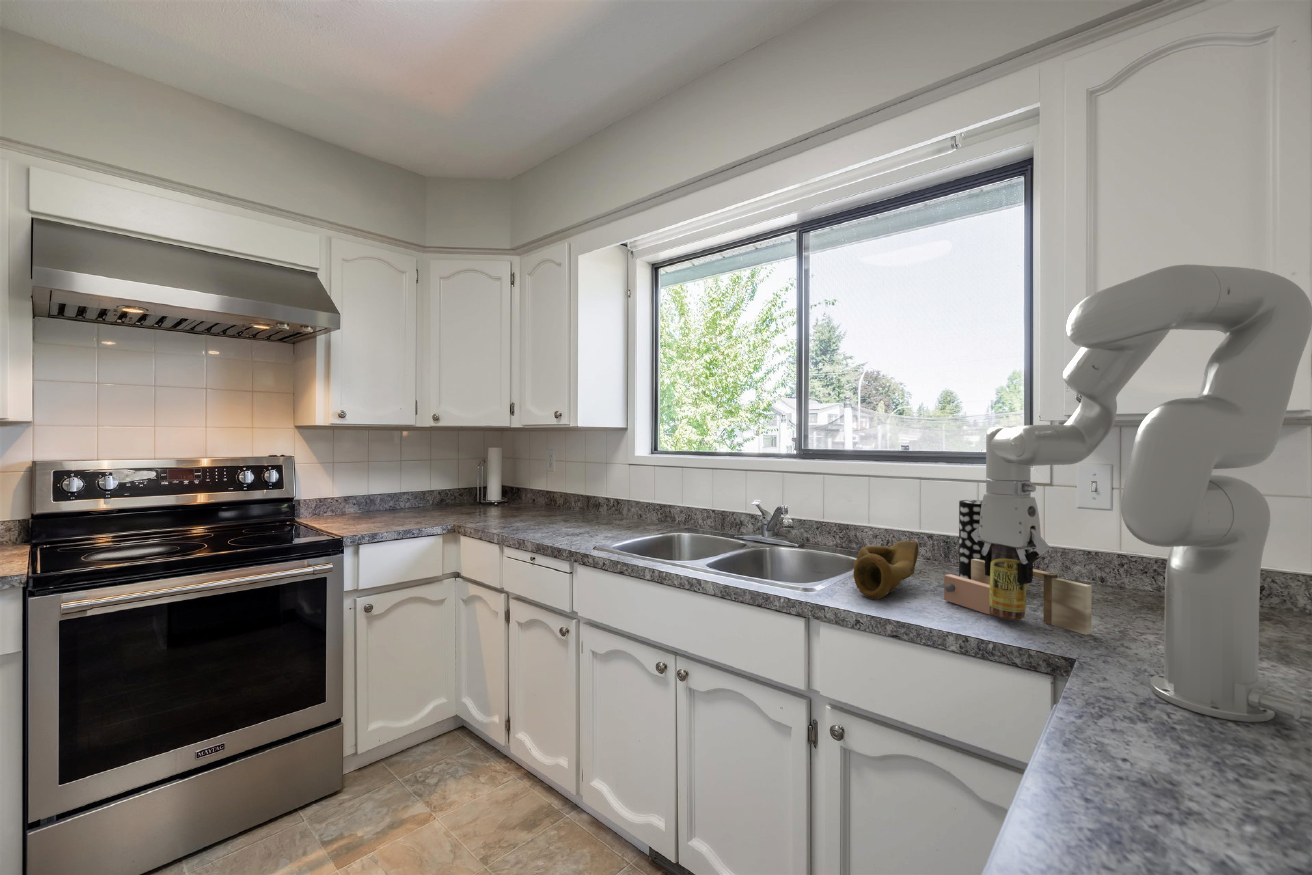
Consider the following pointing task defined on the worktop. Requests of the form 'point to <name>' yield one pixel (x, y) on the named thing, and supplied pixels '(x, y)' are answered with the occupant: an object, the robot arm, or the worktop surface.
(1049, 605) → the door frame
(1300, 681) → the worktop surface
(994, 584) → the sauce bottle
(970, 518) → the spotted tube
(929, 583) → the worktop surface
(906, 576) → the brown looped sculpture
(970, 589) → the door
